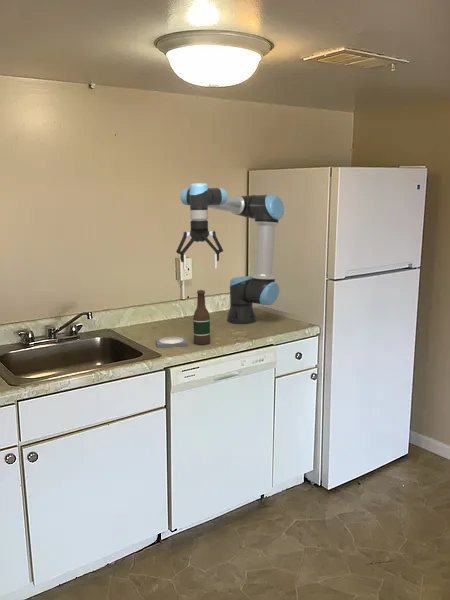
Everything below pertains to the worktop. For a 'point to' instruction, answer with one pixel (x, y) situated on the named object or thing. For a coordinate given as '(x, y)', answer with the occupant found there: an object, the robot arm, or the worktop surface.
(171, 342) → the grey soap dish
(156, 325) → the worktop surface
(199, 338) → the beer bottle
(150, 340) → the worktop surface
